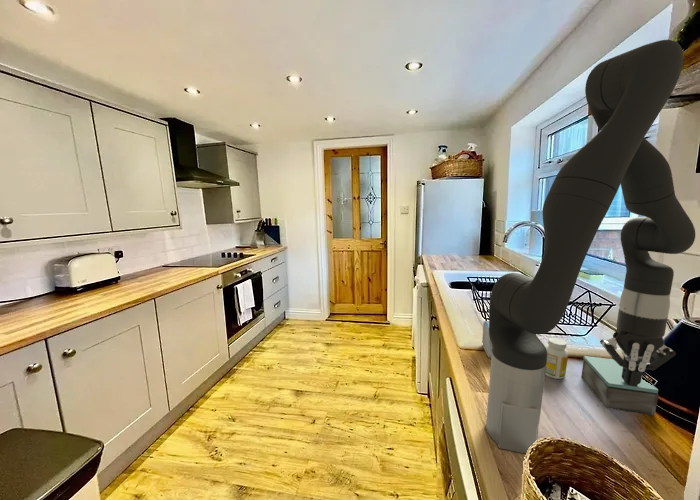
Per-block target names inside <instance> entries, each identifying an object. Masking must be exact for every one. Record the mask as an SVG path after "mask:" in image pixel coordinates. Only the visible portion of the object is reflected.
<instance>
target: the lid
mask: <svg viewBox="0 0 700 500" xmlns="http://www.w3.org/2000/svg"><path fill="white" fill-rule="evenodd" d="M582 357H583V361H584V360H585V361H586V362H587V363H588V364H589V366H590V367H591V368H592V369H593V370H594V371H595V372H596V373H597V374H598V376H599V377H600V378H601V379H602V380H603V381H604V382H605V383H606V385H607V386H609V387H616V388H624V389H631V390H638V391H645V392H652V393H656V394H658V393H659V389H658V388H657V387H656V386H655V385H653V384H652V383H651V382H650V383H651V384H652V385H651V384H650V383H648V382H646V381H645V380H643V379H642V378H641V382H640V384H638V385H637V386H631V385H628V384H627V383H626V382H625V381H624V380H623V379H622V370H623V367H621V366H620V365H619V364H618V363H617V362H615V361H614V360H613V358H606V357H605V358H604V357H597V356H589V355H587V356H586V355H583V356H582Z"/></svg>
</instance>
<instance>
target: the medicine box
mask: <svg viewBox="0 0 700 500" xmlns="http://www.w3.org/2000/svg"><path fill="white" fill-rule="evenodd" d="M481 343H483V346H482V347H483V349H484V352H485V353H486V356H487V357H488V358H489V359H491V357H492V343H491V340H490V337H489V320H484V321H483V325H482V339H481Z"/></svg>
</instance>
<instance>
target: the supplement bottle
mask: <svg viewBox="0 0 700 500" xmlns="http://www.w3.org/2000/svg"><path fill="white" fill-rule="evenodd" d="M544 346H545V347H546V350H547V363H546V371H545V376H547V377H549V378H552V379H556V380H557V379H558V380H561V379H564V378H565V377H566V374H567V365H568V359H569V351H568V350H567V349H566V348H567V342H566V341H565V340H563V339H561V338H558V337H549V338H548V341H547V345H544Z"/></svg>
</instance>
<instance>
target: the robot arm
mask: <svg viewBox="0 0 700 500" xmlns="http://www.w3.org/2000/svg"><path fill="white" fill-rule="evenodd" d="M683 66H684V52H683V48H682V46H681V45H680V44H679V42H677V41H676V40H671V39H663V40H662V39H661V40H656V41H653V42H650V43H647V44H644V45H641V46H639V47H638V46H637V47H636V48H633V49H631V50H628V51H626V52H623V53H621V54H617V55H615V56H613V57H611V58H607V59H606V60H604V61H603V60H602V62H599V63H598V64H597V65H595V66H594V67H593V69H591V71H590V72H589V74H588V76H587V79H586V81H585V89H584V90H585V93H584V94H585V99H586V102H587V103H586V104H587V106H588V109H589V110H590V111H589V112H590V114H591V116H592V118H593V120H594V122H595V124H596V127H597V128H598V129H597V130H598V132H597V134H595V135H594V136H593V137H592V138H591V139H590V140H589V141H588V142H586V144H584V145H583V146H582V147H581V148H580V149H579V150H578V151H577V152H576V153H575V154H573V156H571V157H570V159H568V160H567V162H565V164H564V165H563V166H562V167H561V168H560V169H559V171H558V172H557V174H556V176H555V178H554V180H553V182H552V184H551V186H550V188H549V190H548V193H547V195H546V197H545V200H544V203H543V206H542V224H543V232H544V238H545V239H544V241H545V246H544V247H545V248H544V252H543V257H542V259H541V262H540V263H539V264H540V265H539V267H538V269H537V272H536V273H535V275H534V277H532V276H528V275H525V274H522V273H518V272H511V273H510V272H509V273H506V274H504V275H502V276H501V277H499V278H498V279H497V281H496V282H495V283H494V285H493V287H492V289H491V292H490V297H489V308H488V309H489V310H488V311H489V313H488V321H489V337H490V340H491V343H492V357H491V358H490V359H491V360H490V369H489V371H490V372H489V373H490V374H489V382H488V395H487V406H486V422H485V428H486V432H487V434H488V436H489V437H490V438H491V439H492V440H493V441H494V442H495V443H496V444H497V448H498V449H502V450H506V451H511V452H515V453H516V452H517V453H520V454H521V453H522V454H525V453H526V452H527V450H528V448H529V447H530V446H531V445H532V444H533V443H534V442H535V441H536V440H537V441H538V439H539V438H538V437H539V429H540V421H541V410H542V403H543V395H544V385H545V378H546V375H545V371H546V363H547V350H546V347H545V346H546V345H545V344H544V343H543V342H542V341H541V340H540V338H539V337H538V336H539V335H545V334H548V333H549V332H551V331H552V330H553V329H555V328H556V327H557V326H558V324H559V323H560V322H561V321H562V318H563V317H564V315H565V313H566V311H567V308H568V306H569V303H570V300H571V298H572V295H573V291H574V290H575V286H576V284H577V280H578V277H579V275H580V272H581V269H582V266H583V263H584V261H585V259H586V258H587V254H588V251H589V249H590V247H591V245H592V243H593V241H594V238H595V237H596V235H597V232H598V230H599V228H600V226H601V224H602V223H603V220H604V218H605V217H606V215H607V214H608V211H609V209H610V207H611V205H612V204H613V201H614V199H615V197H616V196H617V193H618V191H619V188H620V189H621V191H622V196H623V202H624V205H625V209H627V211H628V212H629V213H632V214H634V215H639V216H635V217H632V218H630V219H629V220H628V221H626V222H625V223H624V224H623V226H622V228H621V229H620V230H621V231H620V244H621V247H622V252H623V256H624V263H625V268H626V272H625V277H624V284H623V290H622V291H621V292H622V293H621V295H620V300H619V304H618V312H617V319H616V330H615V331H614V333H613V334H612V337H611V338H608V339H607V340H606V339H600V341H599V343H600V344H601V345H602V347H603V348H604V349H605V351H606V352H607V353H608V354H609V356H610V357H611V359H613V360H614V361H615V362H617V363H618V364H619V365H620V366H621V367H623V370H622V379H623V380H624V381H625V382H626V383H627V384H628V385H631V386H637V385H638V384H640V382H641V378H642V376H643V372H645V371H647V370H649V371H655V370H656V369H658V368H659V367H661V366H662V365H664V364H665V363H667V362H668V361H669V360H671V359H672V358H674V357H675V356H676V354H677V352H676V351H674V350H673V349H672V348H670V347H668V346H666V344H665V340H664V337H665V335H666V329H667V323H668V319H669V313H670V307H671V293H672V288H673V287H672V286H673V282H674V275H675V274H674V273H675V272H674V269H673V268H672V267H671V266H669V265H667V264H664V263H661V262H659V261H656V260H655V259H653V258H652V257H651V255H650V253H649V252H653V253H660V254H669V255H678V254H682V253H684V252H686V251H688V250H689V249H690V248H691V247H692V246H693V244H694V243H695V240H696V227H695V225H694V223H693V222H692V219H690V216H689V215H688V214H687V213H686V210H685V209H684V208H683V206H682V204H681V203H680V201H679V200H678V198H677V196H676V192H675V187H674V186H675V185H674V180H673V173H672V169H671V165H670V164H669V162H668V161H667V159H666V157H665V156H664V155H663V153H661V152H660V150H658V149H657V148H656V146H655V145H654V144H652V143H651V142H650V141H648V140H647V138H645V137H646V135H647V134H648V132H649V131H650V129H651V127H652V125H653V124H654V122H655V121H656V119H657V117H658V116H659V115H660V113H661V111H662V109H663V108H664V107H665V104H666V103H667V101H668V100H669V99H670V97H671V96H672V93H673V92H674V90H675V88H676V87H677V86H676V85H677V84H678V81H679V79H680V76H681V74H682V70H683ZM617 345H618V346H617ZM618 347H619V348H620V349H621V355H622V356H621V355H620V354H619V353H618V351H617V349H618Z"/></svg>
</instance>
